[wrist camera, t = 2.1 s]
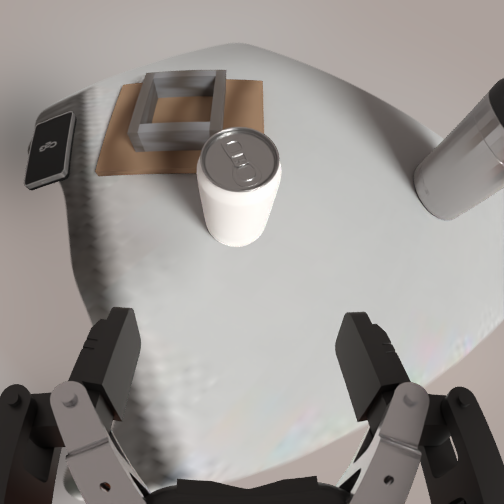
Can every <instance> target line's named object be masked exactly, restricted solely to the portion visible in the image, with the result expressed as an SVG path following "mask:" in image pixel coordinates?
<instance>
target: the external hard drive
mask: <svg viewBox="0 0 504 504" xmlns="http://www.w3.org/2000/svg"><path fill="white" fill-rule="evenodd" d="M75 125H76V116H75V115H74V113H73V112H72V111H70V112H67V113H64V114H62V115H59V116H56V117H54V118H51V119H49V120H46V121H44V122H41V123H39V124H37V125H36V127H35V130H34V134H33V138H32V142H31V147H30V152H29V157H28V162H27V167H26V173H25V179H24V185H25V186H26V187H27V188H28V189H29V190H34V189H37V188H40V187H43V186H46V185H49V184H52V183H55V182H58V181H61V180H64V179H67V178H68V176H69V170H70V160H71V152H72V144H73V137H74V131H75Z"/></svg>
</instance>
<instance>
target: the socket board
mask: <svg viewBox="0 0 504 504" xmlns="http://www.w3.org/2000/svg"><path fill="white" fill-rule="evenodd" d="M231 127H247V128H252V129H255V130H257V131H260V132H261V133H263V134H264V117H263V81H256V80H231V79H226V70H187V71H168V72H155V73H146V76H145V79H144V81H143V83H135V84H126V85H123V87H122V89H121V92H120V94H119V97H118V100H117V103H116V105H115V108H114V111H113V114H112V117H111V120H110V123H109V126H108V129H107V132H106V135H105V138H104V142H103V145H102V148H101V152H100V155H99V159H98V163H97V167H96V170H95V172H96V173H97V175H98V176H111V175H133V174H173V173H197V163H198V160H199V157H200V154H201V151H202V148H203V146H204V144H205V143H206V141H207V140H208V139H209V138H210V137H211V136H213V135H214V134H215V133H217V132H219V131H221V130H224V129H227V128H231Z"/></svg>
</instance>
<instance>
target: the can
mask: <svg viewBox="0 0 504 504" xmlns="http://www.w3.org/2000/svg"><path fill="white" fill-rule="evenodd" d="M280 180H281V164H280V160H279V153H278V150H277V148H276V146H275V144H274V143H273V142H272V140H271V139H270V138H269V137H267V136H266V135H265V134H263V133H261V132H260V131H257V130H255V129H252V128H247V127H231V128H227V129H224V130H221V131H219V132H217V133H215V134H214V135H213V136H211V137H210V138H209V139H208V140H207V141H206V143H205V144H204V146H203V148H202V151H201V154H200V157H199V160H198V163H197V181H198V187H199V192H200V197H201V203H202V208H203V213H204V217H205V222H206V225H207V228H208V230H209V232H210V234H211V235H212V236H213V237H214V238H215V239H216V240H217V241H219V242H220V243H222V244H224V245H227V246H233V247H241V246H245V245H248V244H250V243H252V242H253V241H255V240H256V239H257V238H258V237H259V236H260V235H261V234H262V232H263V231H264V228H265V226H266V223H267V220H268V217H269V214H270V212H271V209H272V205H273V202H274V199H275V196H276V193H277V190H278V187H279V183H280Z"/></svg>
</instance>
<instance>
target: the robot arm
mask: <svg viewBox="0 0 504 504" xmlns="http://www.w3.org/2000/svg"><path fill="white" fill-rule="evenodd" d="M414 184H415V188H416V191H417V194H418V196H419V198H420V200H421V201H422V203H423V204H424V206H425V207H426V208H427V209H428V210H429V211H430V212H431V213H432V214H433V215H435V216H436V217H438V218H440V219H443V220H453V219H455V218H456V217H458V216H460V215H461V214H463V213H465V212H467V211H468V210H470V209H471V208H473V207H475V206H476V205H478V204H479V203H481V202H483V201H484V200H486V199H487V198H489V197H490V196H492V195H494V194H495V193H497V192H498V191H500V190H501V189H503V188H504V79H501V80H499V81H498V82H497V83H496V84H495V85H494V86H493V87H492V89H491V90H490V91H489V92H488V93H487V94H486V95H485V96H484V97H483V99H482V100H481V101H480V102H479V103H478V104H477V105H476V106H475V107H474V109H473V110H472V111H471V112H470V113H469V114H468V115H467V116H466V117H465V118H464V119H463V120H462V121H461V122H460V123H459V125H457V127H456V128H455V129H454V130H453V131H452V132H451V133H450V134H449V135H448V136H447V137H446V138H445V139H444V140H443V141H442V142H441V143H440V144H439V145H438V146H437V147H436V148H435V149H434V150H433V151H432V152H431V153H430V154H429V155H428V156H427V157H426V158H425V159H424V160H423V161H422V162H421V163H420V164H419V165H418V166H417V168H416V169H415V172H414ZM140 349H141V339H140V334H139V330H138V326H137V322H136V318H135V313H134V310H133V309H132V308H122V307H113V308H112V309H111V312H110V314H109V316H108V318H107V320H104V319H100V320H99V321H98V322H97V323H96V324H95V325H94V326H93V327H92V328H91V330H90V332H89V335H88V337H87V340H86V341H85V343H84V346H83V349H82V350H81V352H80V355H79V357H78V359H77V362H76V364H75V366H74V368H73V371H72V373H71V376H70V378H69V380H68V381H67V382H63V383H61V384H59V385H58V386H56V387H55V388H54V390H53V391H52V393H42V394H30V392H29V391H28V390H27V388H25V387H24V386H22V385H19V384H15V385H11V386H9V387H7V388H6V389H5V390H4V391H3V392H2V394H1V396H0V504H52V498H53V491H54V485H55V479H56V474H57V468H58V463H59V458H60V453H61V448H62V447H66V449H67V452H68V455H66V462H67V464H68V467H69V469H70V472H71V474H72V476H73V478H74V480H75V482H76V485H77V487H78V489H79V491H80V493H81V495H82V497H83V499H84V500H85V502H86V504H405V501H406V499H407V496H408V494H409V491H410V489H411V486H412V483H413V480H414V478H415V475H416V472H417V469H418V466H419V463H420V462H421V465H422V468H423V473H424V476H425V480H426V484H427V488H428V492H429V496H430V500H431V504H504V465H503V461H502V459H501V456H500V454H499V451H498V448H497V446H496V443H495V441H494V438H493V436H492V434H491V431H490V429H489V426H488V424H487V422H486V419H485V417H484V415H483V413H482V410H481V408H480V406H479V404H478V402H477V400H476V398H475V396H474V395H473V393H472V392H471V391H469V390H468V389H466V388H464V387H455V388H453V389H452V390H451V391H450V392H449V393H448V394H447V396H445V395H431V394H428V393H427V392H426V390H425V389H424V388H423V387H422V386H420V385H418V384H416V383H413V382H411V381H410V379H409V377H408V375H407V373H406V371H405V369H404V367H403V365H402V363H401V361H400V359H399V357H398V355H397V353H395V349H394V347H393V345H392V344H391V341H390V339H389V337H388V336H387V334H386V332H385V331H384V330H383V329H382V328H381V327H379V326H378V325H377V324H372V323H371V321H370V319H369V317H368V315H367V313H366V312H349V313H346V314H345V316H344V318H343V321H342V324H341V327H340V330H339V333H338V336H337V339H336V345H335V350H336V356H337V359H338V362H339V365H340V368H341V371H342V374H343V377H344V380H345V383H346V386H347V389H348V392H349V396H350V399H351V402H352V405H353V408H354V412H355V415H356V418H357V421H358V422H360V421H366V420H368V422H369V427H368V429H367V430H366V433H365V435H364V437H363V440H362V441H361V443H360V445H359V447H358V449H357V451H356V453H355V455H354V457H353V459H352V461H351V463H350V465H349V467H348V468H347V470H346V471H345V473H344V474H343V475H342V477H341V478H340V480H339V481H338V483H337V484H336V486H333V485H330V484H325V483H319V482H317V476H312V477H305V478H295V479H285V480H281V481H277V482H275V483H271V484H267V485H263V486H260V487H256V488H252V489H243V488H238V487H234V486H229V485H225V484H221V483H217V482H213V481H198V480H185V479H177V485H174V486H169V487H165V488H162V489H159V490H156V491H154V492H152V493H151V492H150V491H149V489H148V488H147V487H146V485H145V484H144V482H143V481H142V479H141V478H140V477H139V475H138V474H137V473H136V471H135V470H134V468H133V467H132V465H131V464H130V462H129V460H128V459H127V457H126V455H125V454H124V452H123V450H122V448H121V447H120V445H119V443H118V441H117V439H116V438H115V436H114V434H113V432H112V430H111V426H112V421H113V420H116V421H123V417H124V413H125V408H126V404H127V400H128V396H129V392H130V388H131V384H132V380H133V376H134V372H135V369H136V365H137V361H138V358H139V354H140ZM450 436H451V437H452V440H453V443H454V445H455V448H456V451H457V454H458V461H457V458H456V455H455V452H454V449H453V446H452V444H451V441H450V438H449V437H450Z"/></svg>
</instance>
